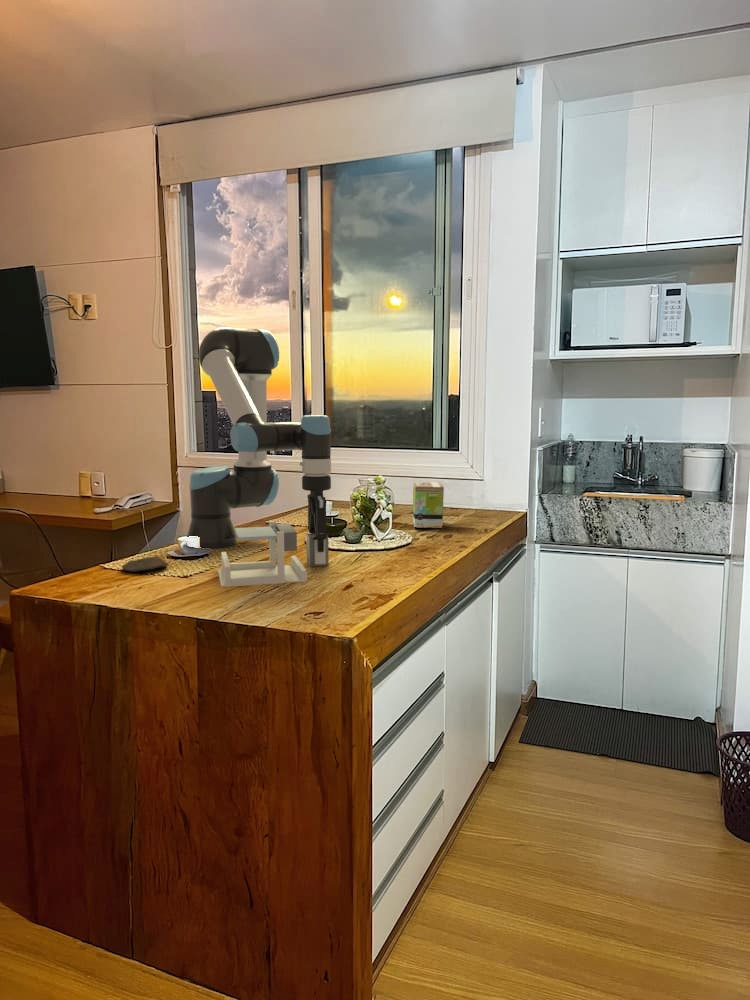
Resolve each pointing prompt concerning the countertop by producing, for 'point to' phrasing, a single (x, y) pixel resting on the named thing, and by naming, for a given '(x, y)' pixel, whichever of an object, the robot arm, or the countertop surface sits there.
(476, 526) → the countertop surface
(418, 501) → the tea box
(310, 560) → the gray rectangular block
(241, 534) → the trapdoor
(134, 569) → the rock
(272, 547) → the frame
